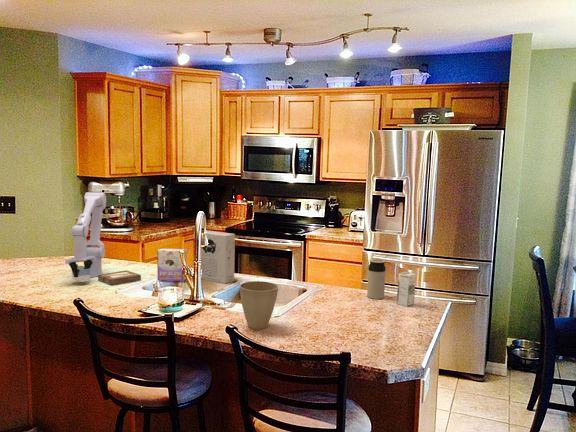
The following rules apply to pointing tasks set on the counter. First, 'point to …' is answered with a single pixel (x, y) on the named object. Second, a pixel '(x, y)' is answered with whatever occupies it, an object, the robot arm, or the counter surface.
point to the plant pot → (258, 302)
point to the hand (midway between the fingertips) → (81, 276)
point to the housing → (82, 274)
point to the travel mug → (376, 279)
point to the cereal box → (218, 257)
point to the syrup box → (406, 288)
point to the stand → (119, 277)
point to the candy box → (170, 265)
